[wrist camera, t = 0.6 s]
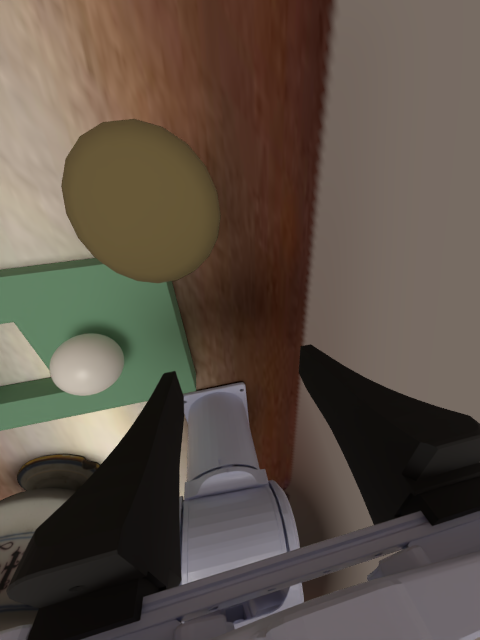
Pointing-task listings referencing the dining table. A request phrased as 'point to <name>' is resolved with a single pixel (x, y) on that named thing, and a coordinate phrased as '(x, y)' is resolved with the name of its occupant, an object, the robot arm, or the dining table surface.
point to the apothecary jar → (33, 519)
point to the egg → (86, 364)
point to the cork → (141, 200)
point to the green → (91, 317)
